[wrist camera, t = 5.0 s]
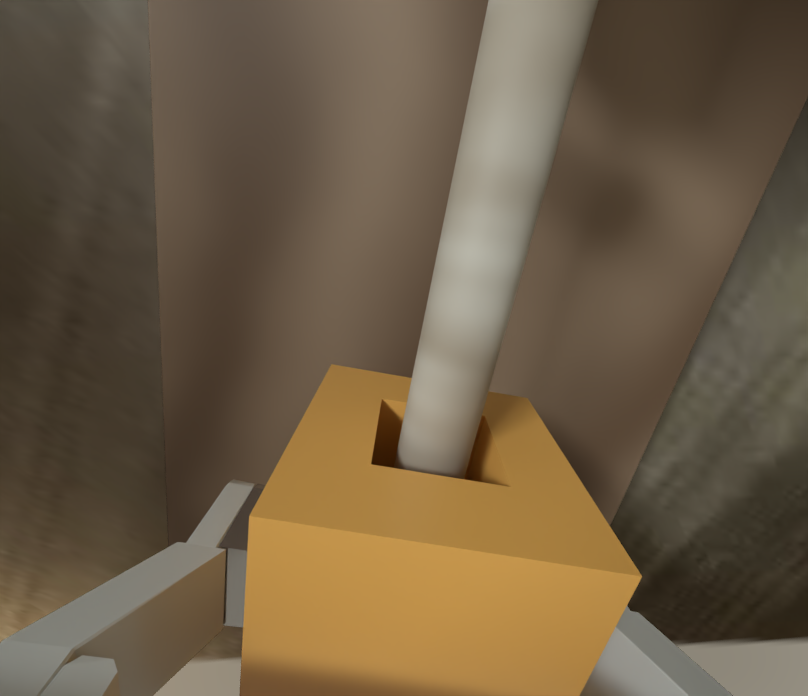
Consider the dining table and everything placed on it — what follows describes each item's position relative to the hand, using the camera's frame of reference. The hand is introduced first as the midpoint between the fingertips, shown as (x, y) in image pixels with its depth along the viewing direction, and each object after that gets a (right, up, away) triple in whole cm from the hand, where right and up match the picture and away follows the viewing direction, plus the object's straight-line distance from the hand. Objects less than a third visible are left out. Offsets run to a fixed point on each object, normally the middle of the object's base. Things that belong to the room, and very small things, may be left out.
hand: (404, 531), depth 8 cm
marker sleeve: (0, 0, +1) cm, 1 cm away
